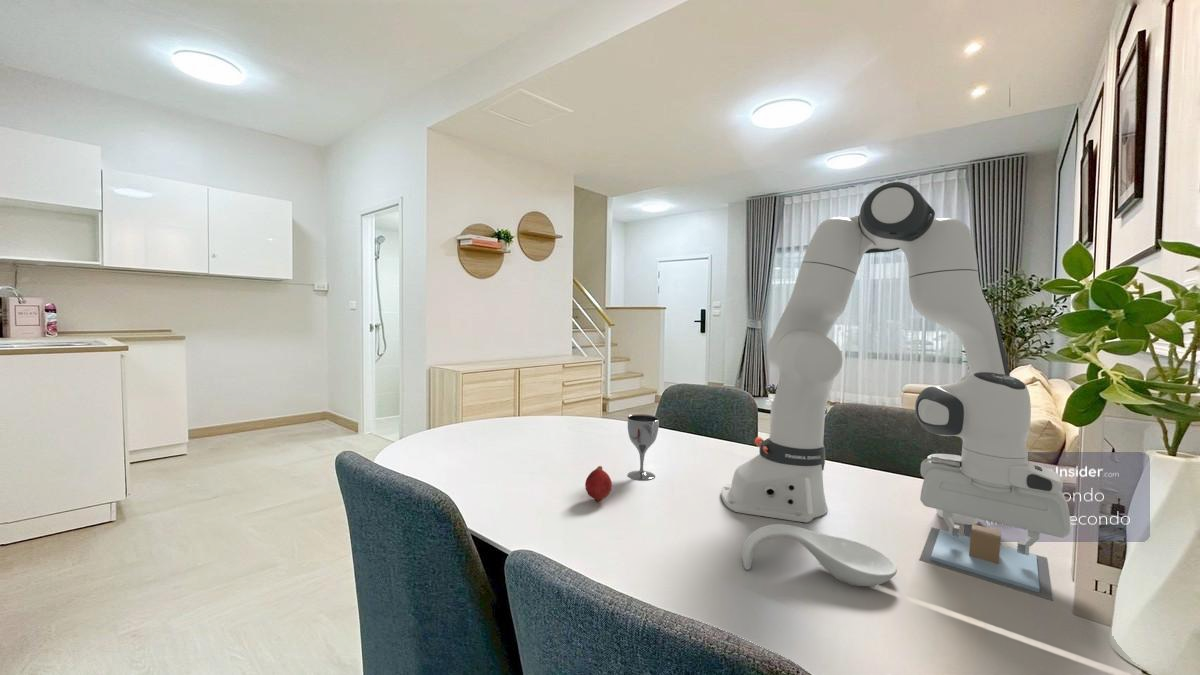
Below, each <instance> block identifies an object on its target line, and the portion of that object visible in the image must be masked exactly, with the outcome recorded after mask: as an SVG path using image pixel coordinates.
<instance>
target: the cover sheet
mask: <svg viewBox="0 0 1200 675" xmlns="http://www.w3.org/2000/svg"><path fill="white" fill-rule="evenodd" d="M939 529H940V528H939ZM1001 538H1002V530H998V529H995V528H990V527H986V526H983V525H982V526H981V525H978V524H972V525H971V529H970V536H968V535H963V534H961V533H959V538H958V537H954V536H950V535H949V530H944V529H940V531H939V534H938V537H937V540H936V543H935V546H934V549H933V552H932V555H931V560H933V561H937V562H940V563H943V564H947V565H950V566H953V567H957V568H960V569H963V570H967V571H970V572H973V573H976V574H980V575H983V576H986V577H990V578H993V579H996V580H1000V581H1003V582H1006V583H1010V584H1013V585H1016V586H1019V587H1023V588H1026V589H1029V590H1033V591H1036V592H1039V589H1040V588H1039V578H1038V567H1037V557H1036V555H1037V554H1034V553H1031V552H1029V556H1028V555H1024V554H1020V553H1017V548H1013V547H1010V546H1009V547H1008V546H1005V545H1001V540H1002V539H1001Z"/></svg>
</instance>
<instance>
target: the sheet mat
mask: <svg viewBox="0 0 1200 675" xmlns="http://www.w3.org/2000/svg"><path fill="white" fill-rule="evenodd" d="M939 531H940V528H936V527H931V528H930V530H929V533H928V535H927V539H926V541H925V543H924V546H923V549H922V550H921V555H920V557H919V558H918V560H919V561H921V562H924V563H927V564H931V565H934V566H937V567H941V568H944V569H947V570H950V571H953V572H957V573H960V574H964V575H966V576H970V577H973V578H976V579H980V580H982V581H986V582H990V583H992V584H996V585H999V586H1002V587H1005V588H1008V589H1013V590H1016V591H1018V592H1023V593H1025V594H1029V595H1032V596H1035V597H1039V598H1042V599H1044V600H1049V601H1052V602H1053V601H1054V598H1053V590H1052V583H1051V578H1050V568H1049V563H1048V557H1045V556H1042V555H1038V554H1036V557H1037V567H1038V578H1039V588H1040V589H1039V592H1036V591H1033V590H1029V589H1026V588H1023V587H1019V586H1016V585H1013V584H1010V583H1006V582H1003V581H1000V580H996V579H993V578H990V577H986V576H983V575H980V574H976V573H973V572H970V571H967V570H963V569H960V568H957V567H953V566H950V565H947V564H943V563H940V562H937V561H933V560H931V555H932V552H933V549H934V546H935V543H936V540H937V537H938V534H939Z"/></svg>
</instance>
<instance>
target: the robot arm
mask: <svg viewBox="0 0 1200 675" xmlns="http://www.w3.org/2000/svg"><path fill="white" fill-rule="evenodd" d="M935 212H936V211H935V210H934V208H933V207H932V206H931V205H930V204H929V203H928V202H927V201H926V199H925V198H924V196H923V195H922V193H920V192H919V191H918V189H916V188H915V187H914V186H913V185H911V184H909V183H906V182H901V181H892V182H891V181H890V182H886V183H884V184H881V185H879V186H877V187H875V188H874V189H873V190H872V191H871V192H869V193H868V195H867V196H866V197H865V198H864V200H863V202H862V204H861V206H860V209H859V214H857V215H854V216H852V217H842V216H837V217H836V216H835V217H830V218H827V219H825V220H823V221H822V222H821V223H820V224H819V225H818V226H817V228H816V230H815V232H814V233H813V235H812V238H810V241H809V244H808V245H807V247H806V250H805V253H804V256H803V258H802V261H801V264H800V267H799V271H798V273H797V277H796V280H795V284H794V285H793V289H792V293H791V295H790V298H789V299H788V303H787V305H786V307H785V309H784V311H783V313H782V314H781V317H780V318H779V321H778V322H777V325H776V328H775V329H774V332H773V334H772V337H770V339H768V342H767V344H766V356H767V359H768V362H769V364H770V366H771V367H772V368H773V369H774V370H775V371H777V373H778V374H779V375H778V376H779V377H778V381H777V386H776V391H775V393H774V394H775V395H774V398H773V400H772V402H771V404H770V421H769V437H768V438H766V439H763V438H762V437H760V436H756V437H755V439H754V444H755V445H756V447H757V448H759V451H758V452H759V454H757V455H755V456H754V457H753V458H751V459H750V460H747V461H746V462H744V463H742V464H741V465H738V467H737V468H736V469H735V470H734V473H733V477H732V481H731V484H725V485H724V486H723V487H722V488H721V493H720V496H721V500H722V502H723V504H724V505H725V506H726V507H728V509H730V510H731V511H733V512H736V513H739V514H740V513H741V514H747V515H751V516H759V517H760V516H761V517H766V518H767V517H768V518H774V519H781V520H786V521H793V522H800V523H801V522H802V523H811V521H812V520H813V519H815V518H818V517H822V516H824V515H826V514H827V513H828V511H829V510H828V504H827V500H826V496H825V490H824V489H825V488H824V479H823V477H824V476H823V475H824V473H823V471H825V464H826V445H824V437H825V436H824V434H825V419H826V417H825V416H826V409H827V405H828V400H829V397H830V393H831V391H832V387H833V384H834V380H835V378H836V377H837V376H838V375H839V373H840V372H841V369H842V366H843V355H842V351H841V349H840V347H839V346H838V344H836V343H835V342H834V341H833V340H832V339H830V337H828V335H829V333H830V331H831V330H832V328H833V327H834V324H835V323H836V321H837V320H838V319H839V317H840V316H841V315H843V313H844V311H845V310H846V307H847V303H848V301H849V298H850V294H851V291H852V289H853V285H854V282H855V279H856V277H857V273H858V270H859V267H860V264H861V261H862V258H863V257H864V255H865V254H874V253H876V254H877V253H887V252H888V253H890V252H894V251H897V250H900V251H902V252H903V253H904V255H905V256H906V260H907V264H908V266H907V267H908V289H909V290H908V292H909V296H910V301H911V303H912V306H913V308H914V309H915V310H916V311H917V312H918V313H919V314H920V315H921V316H922V317H924V318H925V319H927V320H929V321H931V322H933V323H936V324H938V325H941V326H943V327H945V328H947V329H948V330H950V331H951V332H953V333H954V334H955V335H956V336H957V337H958V338H959V339H960V341H961V342H962V344H963V347H964V348H963V349H964V351H965V356H966V361H967V362H966V363H967V366H968V370H969V376H968V377H967V378H965V379H962V380H959V381H955V382H952V383H947V384H938V385H933V386H928V387H925V388H924V389H923V390H921V391H920V393H919V395H918V396H917V398H916V400H915V404H914V405H915V406H914V408H915V409H914V411H915V415H916V416H915V417H916V419H917V420H918V422H919V424H920V425H921V427H922V428H924V430H925V431H927V432H929V433H930V434H933V435H938V436H942V437H953V436H955V437H958V438H960V439H961V440H962V445H961V456H962V458H961V461H955V460H948V459H947V460H946V459H941V458H938V457H931V458H928V459H927V458H924V459H923V460H922V461H921V463H920V475H921V477H922V478H923V482H922V486H921V490H920V496H919V497H920V499H919V500H920V503H922V505H923V506H925V507H927V508H931V509H939V510H943V517H944V518H943V519H944V521H945V523H946V524H947V526H948V527H949V528H948V531H949V535H950V536H954V537H958V538H959V534H960V529H961V528H960V527H961V526H960V524H959V525H958V524H955V522H953V520H952V519H951V518H952V515H953V513H956V514H961V515H965V516H969V517H974V518H978V519H979V520H983V521H987V522H992V523H995V524H1000V525H1005V526H1008V527H1009V526H1010V527H1013V528H1017V529H1022V530H1025V531H1027V536H1028V537H1026V538H1025V540H1021V539H1020V540H1019V539H1017V548H1016V549H1017V553H1020V554H1024V555H1028V556H1029V553H1030V547H1032V546H1033V545H1034V544H1035V543H1036V542H1037V541H1039V540H1040V534H1043V535H1047V536H1052V537H1056V538H1060V539H1065V538H1066V537H1067V536H1069V535H1070V534H1071V517H1070V510H1069V505H1068V502H1067V499H1066V496H1065V495H1064V493H1063V491H1062V490H1063V486H1064V484H1063V479H1062V477H1061V476H1060V475H1059V474H1058V473H1057V472H1056V471H1055V470H1052V469H1049V468H1046V467H1044V466H1041V465H1039V464H1037V463H1034V462H1031V461H1030V460H1028V457H1029V455H1028V454H1029V453H1028V449H1027V445H1026V444H1027V443H1026V442H1027V437H1028V435H1029V434H1030V430H1031V417H1032V415H1031V414H1032V413H1031V412H1032V411H1031V410H1032V409H1031V408H1032V407H1031V405H1032V404H1031V395H1030V392H1029V389H1028V386H1027V385H1026V383H1024V382H1023V381H1021V380H1020V379H1018V378H1017V377H1013V376H1011V375H1010V369H1009V365H1008V362H1007V361H1008V360H1007V357H1006V351H1005V348H1004V342H1003V337H1002V334H1001V329H1000V325H999V322H998V319H997V316H996V314H995V312H994V310H993V308H992V307H991V306H990V305H989V304H988V302H987V300H986V298H985V295H984V293H983V290H982V287H981V282H980V276H979V267H978V257H977V253H976V248H975V247H976V246H975V243H974V240H973V237H972V236H973V235H972V234H971V230H970V227H969V226H968V224H966V223H965V222H964V221H962V220H960V219H955V218H952V217H951V218H950V217H941V218H935V215H936V213H935ZM928 461H931V462H928ZM960 467H961V469H960Z"/></svg>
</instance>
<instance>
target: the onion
mask: <svg viewBox="0 0 1200 675" xmlns="http://www.w3.org/2000/svg"><path fill="white" fill-rule="evenodd" d="M612 483H613V482H612V479H611V477H610V475H609V474H608V473H607V472H606V471H604V469H603V466H602V465H599V466H597V467H596V468H595V469H594V470H592V471H591V472H590V473H589V474H588V476H587V477H586V480H585V484H584V487H585V491H586V493H587V495H588V496H589V497H590V498H592V499H593V500H595V501H596V502H599V503H600V502H601V501H602V500H604V499H606V497H607V496H608V495H610V492H612V491H611V490H612V488H613V484H612Z"/></svg>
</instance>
